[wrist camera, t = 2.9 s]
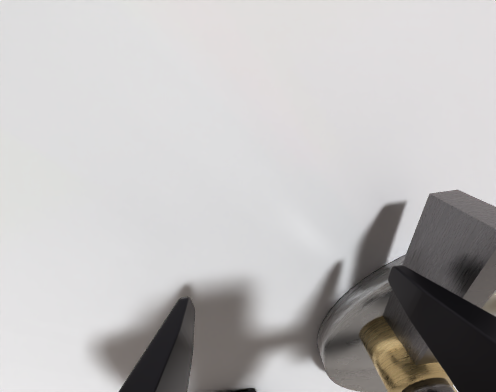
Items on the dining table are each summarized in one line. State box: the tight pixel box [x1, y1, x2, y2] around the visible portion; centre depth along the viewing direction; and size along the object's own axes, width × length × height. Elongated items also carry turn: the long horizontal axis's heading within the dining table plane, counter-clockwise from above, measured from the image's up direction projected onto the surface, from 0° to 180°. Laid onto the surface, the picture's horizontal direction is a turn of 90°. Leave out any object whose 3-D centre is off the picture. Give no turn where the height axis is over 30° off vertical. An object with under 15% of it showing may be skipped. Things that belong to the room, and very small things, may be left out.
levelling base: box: [317, 255, 496, 392], centre depth 15 cm, size 24×19×5 cm
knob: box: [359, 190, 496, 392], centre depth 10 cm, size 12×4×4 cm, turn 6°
